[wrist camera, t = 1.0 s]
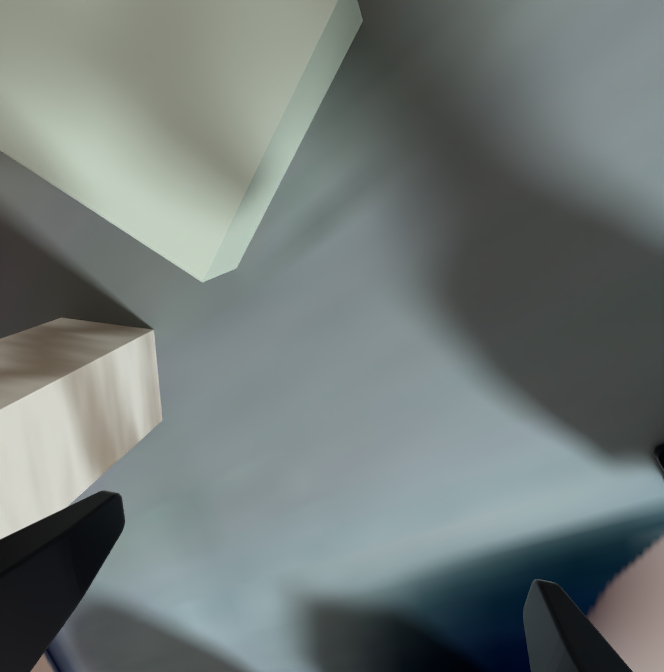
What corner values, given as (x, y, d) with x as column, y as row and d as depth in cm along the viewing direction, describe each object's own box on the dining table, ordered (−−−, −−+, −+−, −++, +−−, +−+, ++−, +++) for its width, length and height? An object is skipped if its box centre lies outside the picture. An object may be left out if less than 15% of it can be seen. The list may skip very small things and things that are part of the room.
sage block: (363, 25, 16) (350, -26, 13) (239, 266, 21) (202, 282, 17) (117, -144, 16) (29, -247, 12) (44, 139, 21) (-36, 126, 17)
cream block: (153, 329, 23) (-138, 481, 11) (162, 420, 25) (-74, 633, 13) (61, 317, 24) (-305, 444, 11) (77, 405, 26) (-219, 592, 14)
